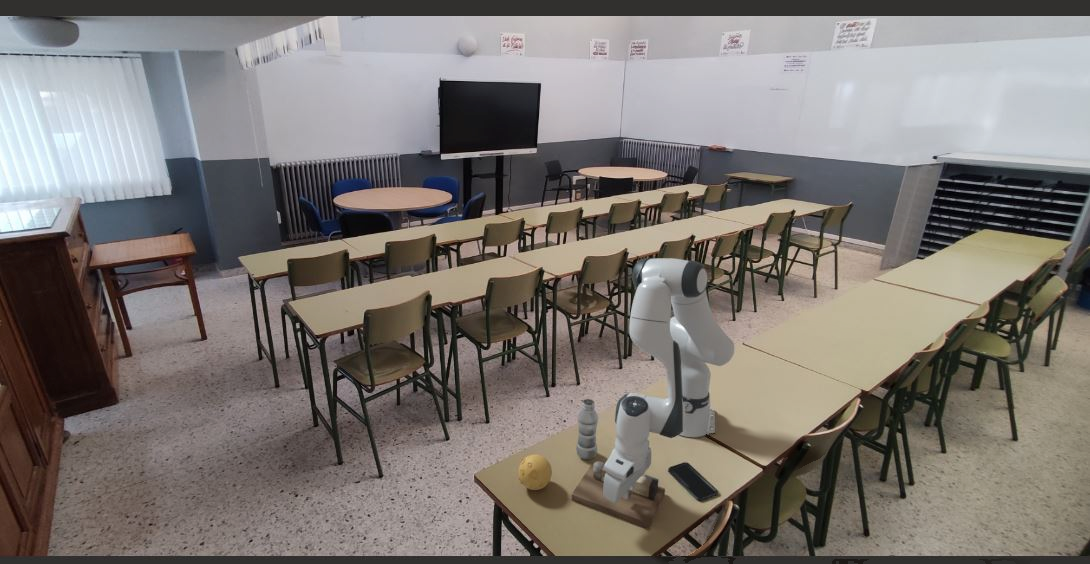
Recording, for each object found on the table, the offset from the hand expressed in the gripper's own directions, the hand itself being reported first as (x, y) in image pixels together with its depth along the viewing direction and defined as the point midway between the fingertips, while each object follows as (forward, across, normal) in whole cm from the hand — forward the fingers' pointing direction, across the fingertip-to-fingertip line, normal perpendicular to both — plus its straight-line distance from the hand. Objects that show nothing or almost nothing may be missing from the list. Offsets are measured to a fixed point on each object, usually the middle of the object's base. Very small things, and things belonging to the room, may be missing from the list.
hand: (627, 495), depth 145 cm
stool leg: (+2, -5, -4) cm, 7 cm away
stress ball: (+5, +10, -26) cm, 28 cm away
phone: (+5, -22, +10) cm, 25 cm away
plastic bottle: (+4, -12, -22) cm, 25 cm away
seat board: (+4, -2, -4) cm, 6 cm away
